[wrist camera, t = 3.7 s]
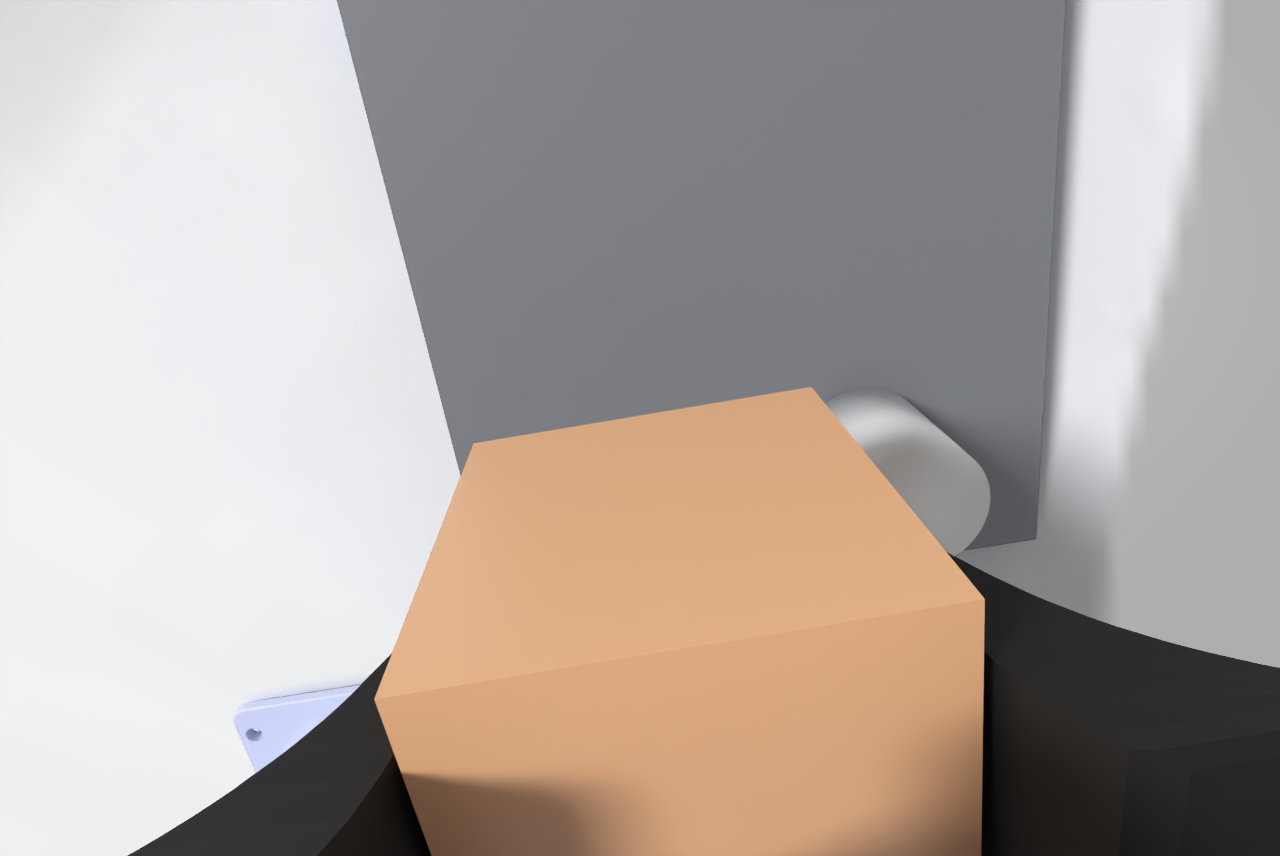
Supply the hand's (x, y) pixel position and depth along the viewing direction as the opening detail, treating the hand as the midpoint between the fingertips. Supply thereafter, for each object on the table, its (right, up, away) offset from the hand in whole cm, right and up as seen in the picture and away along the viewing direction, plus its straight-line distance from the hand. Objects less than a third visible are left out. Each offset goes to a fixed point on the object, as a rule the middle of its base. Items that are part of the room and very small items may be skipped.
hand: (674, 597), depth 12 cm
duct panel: (+2, +7, +8) cm, 10 cm away
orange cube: (0, 0, +1) cm, 1 cm away
